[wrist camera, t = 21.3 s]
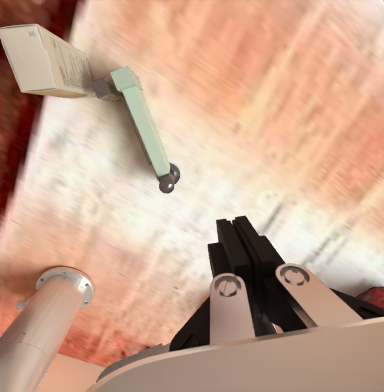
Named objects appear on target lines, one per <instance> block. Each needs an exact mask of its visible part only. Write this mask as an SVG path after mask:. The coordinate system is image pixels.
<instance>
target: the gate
mask: <svg viewBox="0 0 384 392" xmlns="http://www.w3.org/2000/svg"><path fill="white" fill-rule="evenodd" d="M110 74H111V76H112V79H113V81H114V83H115V86H116V88H117V90H118V91H120V92H122V93H123V95H124V97H125V99H126V102H127V104H128V106H129V109H130V111H131V114H132V116H133V118H134V121H135V123H136V126H137V128H138V130H139V133H140V135H141V138H142V140H143V142H144V145H145V147H146V150H147V152H148V154H149V157H150V159H151V161H152V164H153V166H154V169H155V171H156V173H157V176H158V177H159V176H162V175H165V174H168V173H169V172H170V164H169V161H168V159H167V156H166V154H165V151H164V148H163V146H162V143H161V141H160V138H159V135H158V133H157V130H156V128H155V125H154V122H153V120H152V117H151V115H150V112H149V109H148V107H147V104H146V102H145V99H144V97H143V94H142V90H143V89H142V86H141V84H140V81H139V78H138V76H137V75H136V74H135V73H134V72H133V71H132V70H131V69H130V68H129V67H128V66H126V67H123V68H121V69H118V70H116V71H113V72H110Z"/></svg>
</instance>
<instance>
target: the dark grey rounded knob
mask: <svg viewBox="0 0 384 392" xmlns="http://www.w3.org/2000/svg"><path fill="white" fill-rule="evenodd" d="M169 164H170V172H169V173H168V174H165V175H162V176H159V177H158V176H157V177H158V180H159V181H160V184H159V188H160V190H161V191H162V192H163V193H170V192H172V191H173V189H174V184H176V183H177V182H178V180H179V178H180V171H179V169H178V168H177V166H175V165H174V164H171V163H169Z"/></svg>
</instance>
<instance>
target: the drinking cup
mask: <svg viewBox="0 0 384 392" xmlns="http://www.w3.org/2000/svg"><path fill="white" fill-rule="evenodd" d="M253 328H254V333H255V337H259V336H265V335H272V334H278V333H277V332H276V330H275V328H274V326H273V324H272V323H271V322H270V321H267V322H263V320H262V317H261V315H257V314H256V312H255V310H254V325H253Z"/></svg>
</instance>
